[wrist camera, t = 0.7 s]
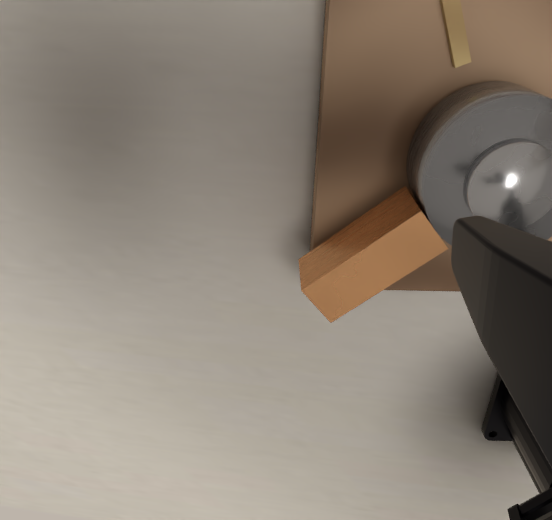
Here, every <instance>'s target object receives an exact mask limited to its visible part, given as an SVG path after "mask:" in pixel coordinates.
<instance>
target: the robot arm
mask: <svg viewBox="0 0 552 520" xmlns="http://www.w3.org/2000/svg"><path fill="white" fill-rule="evenodd" d="M451 265H452V270H453V273H454V276H455V278H456V281H457V283H458V286H459V288H460V291H461V293H462V296H463V298H464V301H465V303H466V306H467V308H468V311H469V313H470V315H471V318H472V320H473V323H474V325H475V328H476V330H477V333H478V335H479V337H480V339H481V342H482V344H483V346H484V347H485V349H486V351H487V353H488V355H489V357H490V359H491V360H492V362H493V364H494V366H495V368H496V369H497V371H498V373H499V374H498V377H497V380H496V384H495V387H494V390H493V394H492V397H491V400H490V404H489V407H488V410H487V414H486V417H485V420H484V424H483V427H482V433H483V435H484V437H485V439H487V440H492V441H513V443H514V445H515V447H516V449H517V451H518V453H519V455H520V457H521V459H522V460H523V462H524V464H525V466H526V468H527V470H528V472H529V474H530V476H531V478H532V480H533V482H534V484H535V486H536V488H537V490H538V492H539V494H538V495H536V496H535V497H533V498H531V499H529V500H527V501H526V502H524V503H522V504H520V505H518V504H516V505H514V506H512V507H511V508H509V509H508V513H509V518H510V520H552V242H551V241H549V240H546V239H543V238H540V237H538V236H535V235H532V234H529V233H527V232H524V231H521V230H518V229H516V228H513V227H510V226H507V225H505V224H502V223H499V222H496V221H494V220H491V219H488V218H485V217H483V216H471V217H465V218H459V219H457V220H456V221H455V223H454V226H453V236H452V251H451Z"/></svg>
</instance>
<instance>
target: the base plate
mask: <svg viewBox="0 0 552 520" xmlns="http://www.w3.org/2000/svg"><path fill="white" fill-rule="evenodd" d="M487 81H506V82H511V83H515V84H518V85H521V86H524V87H526V88H528V89H531V90H533V91H535V92H537V93H540V94H542V95H544V96H546V97H549V98H551V99H552V0H326V8H325V24H324V39H323V55H322V70H321V86H320V101H319V117H318V132H317V147H316V163H315V178H314V194H313V209H312V225H311V240H310V251H311V250H313V249H314V248H316V247H317V246H319V245H320V244H322V243H323V242H324V241H326V240H327V239H329V238H330V237H332V236H333V235H335V234H336V233H338V232H339V231H340V230H342V229H343V228H345V227H346V226H348V225H349V224H351V223H352V222H353V221H355V220H356V219H358V218H359V217H361V216H362V215H364V214H365V213H367V212H368V211H369V210H371V209H372V208H374V207H375V206H377V205H378V204H380V203H381V202H382V201H384V200H385V199H387V198H388V197H390V196H391V195H393V194H394V193H396V192H397V191H398V190H400V189H401V188H403V187H404V186H406V187H407V189H408V190H409V192H410V193H411V194H412V192H411V190H410V187H409V184H408V180H407V172H406V162H407V154H408V149H409V146H410V143H411V140H412V138H413V136H414V133H415V131H416V130H417V128H418V126H419V125H420V123H421V121H422V120H423V119H424V118H425V116H426V115H427V114H428V113H429V112H430V111H431V110H432V109H433V108H434V106H436V105H437V104H438V103H439V102H440V101H442V100H443V99H444V98H446V97H447V96H449V95H450V94H452V93H454V92H456V91H458V90H460V89H462V88H464V87H467V86H470V85H472V84H476V83H481V82H487ZM412 196H413V194H412ZM413 197H414V196H413ZM414 199H415V198H414ZM415 200H416V199H415ZM442 240H443V241H444V243H445V244H446V246H447V247H448V249H447V250H446V251H444V252H443V253H441V254H439V255H438V256H436V257H435V258H433V259H431V260H430V261H428V262H427V263H425V264H423V265H422V266H420V267H419V268H417V269H416V270H414V271H412V272H411V273H409V274H408V275H406V276H404V277H403V278H401V279H400V280H398V281H396V282H395V283H393V284H392V285H390V286H389V287H387V288H385V289H384V290H418V291H460V288H459V286H458V283H457V281H456V278H455V276H454V273H453V270H452V265H451V251H452V246H451V245H450V244H448V243H447V242H446V241H445V240H444V239H442ZM548 240H549V241H551V242H552V237H551V238H549V239H548Z"/></svg>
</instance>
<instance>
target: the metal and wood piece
mask: <svg viewBox="0 0 552 520" xmlns="http://www.w3.org/2000/svg"><path fill="white" fill-rule="evenodd" d="M406 172H407V180H408V184H409V187H410V190H411V192H412V194H413V196H414V197H413V196H412V194H411V193H410V192H409V190H408V189H407V187H406V186H404V187H403V188H401V189H400V190H398V191H397V192H396V193H394V194H393V195H391V196H390V197H388V198H387V199H385V200H384V201H382V202H381V203H380V204H378V205H377V206H375V207H374V208H372V209H371V210H369V211H368V212H367V213H365V214H364V215H362V216H361V217H359V218H358V219H356V220H355V221H353V222H352V223H351V224H349V225H348V226H346V227H345V228H343V229H342V230H340V231H339V232H338V233H336V234H335V235H333V236H332V237H330V238H329V239H327V240H326V241H324V242H323V243H322V244H320V245H319V246H317V247H316V248H314V249H313V250H311V251H310V252H309V253H307V254H306V255H304V256H303V257H301V258H300V259H299V269H300V280H301V291H302V292H303V293H304V294H305V295H306V296H307V297H308V298H309V300H310V301H311V302H312V303H313V304H314V305H315V306H316V307H317V308H318V309H319V310H320V312H321V313H322V314H323V315H324V316H325V317H326V318H327V319H328V320H329V321H330V323H331V322H333V321H335V320H336V319H338V318H339V317H341V316H342V315H344V314H346V313H347V312H349V311H350V310H352V309H354V308H355V307H357V306H358V305H360V304H362V303H363V302H365V301H366V300H368V299H369V298H371V297H373V296H374V295H376V294H377V293H379V292H381V291H382V290H384V289H385V288H387V287H389V286H390V285H392V284H393V283H395V282H396V281H398V280H400V279H401V278H403V277H404V276H406V275H408V274H409V273H411V272H412V271H414V270H416V269H417V268H419V267H420V266H422V265H423V264H425V263H427V262H428V261H430V260H431V259H433V258H435V257H436V256H438V255H439V254H441V253H443V252H444V251H446V250H447V249H448V247H447V246H446V244H445V243H444V241H443V240H442V239H444V240H445V241H446V242H447V243H448V244H450V245H451V246H452V236H453V226H454V223H455V221H456V220H457V219H459V218H465V217H471V216H483V217H485V218H488V219H491V220H494V221H496V222H499V223H502V224H505V225H507V226H510V227H513V228H516V229H518V230H521V231H524V232H527V233H529V234H532V235H535V236H538V237H540V238H543V239H546V240H548V239H549V238H551V237H552V99H551V98H549V97H546V96H544V95H542V94H540V93H537V92H535V91H533V90H531V89H528V88H526V87H524V86H521V85H518V84H515V83H511V82H506V81H487V82H481V83H476V84H472V85H470V86H467V87H464V88H462V89H460V90H458V91H456V92H454V93H452V94H450V95H449V96H447V97H446V98H444V99H443V100H442V101H440V102H439V103H438V104H437V105H436V106H434V108H433V109H432V110H431V111H430V112H429V113H428V114H427V115H426V116H425V118H424V119H423V120H422V121H421V123H420V125H419V126H418V128H417V130H416V131H415V133H414V136H413V138H412V140H411V143H410V146H409V149H408V154H407V162H406ZM414 198H415V199H416V200H415V199H414Z"/></svg>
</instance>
